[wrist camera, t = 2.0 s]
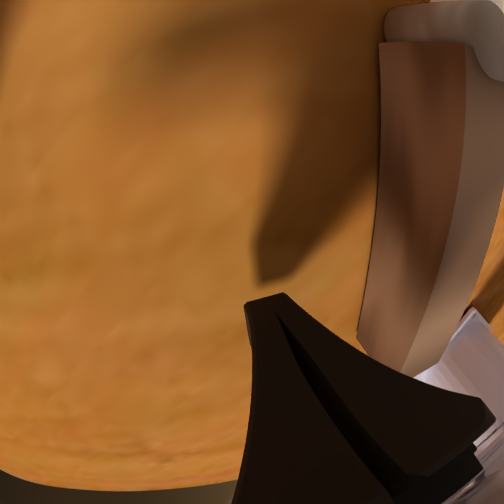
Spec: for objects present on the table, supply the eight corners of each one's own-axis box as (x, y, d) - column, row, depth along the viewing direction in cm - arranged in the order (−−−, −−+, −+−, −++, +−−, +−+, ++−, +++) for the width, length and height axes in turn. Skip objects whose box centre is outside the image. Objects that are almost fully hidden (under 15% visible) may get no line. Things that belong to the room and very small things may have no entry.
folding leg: (373, -2, 6) (465, -17, 3) (433, 16, 7) (516, 19, 4) (355, 337, 14) (395, 393, 11) (400, 318, 15) (441, 366, 11)
